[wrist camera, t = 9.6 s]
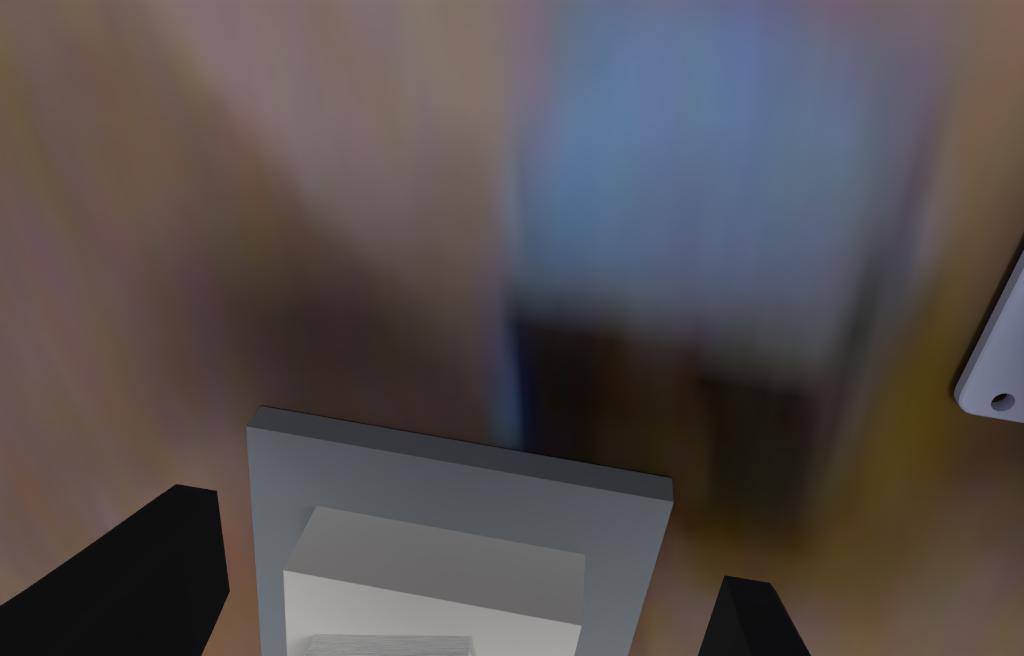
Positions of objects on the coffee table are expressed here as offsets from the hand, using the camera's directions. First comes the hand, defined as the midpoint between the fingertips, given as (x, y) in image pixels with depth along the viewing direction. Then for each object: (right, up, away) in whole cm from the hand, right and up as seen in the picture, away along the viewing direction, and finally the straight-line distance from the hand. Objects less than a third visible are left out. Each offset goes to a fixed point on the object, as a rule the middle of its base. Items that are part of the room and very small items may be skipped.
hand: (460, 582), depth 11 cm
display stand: (-2, -7, +15) cm, 16 cm away
